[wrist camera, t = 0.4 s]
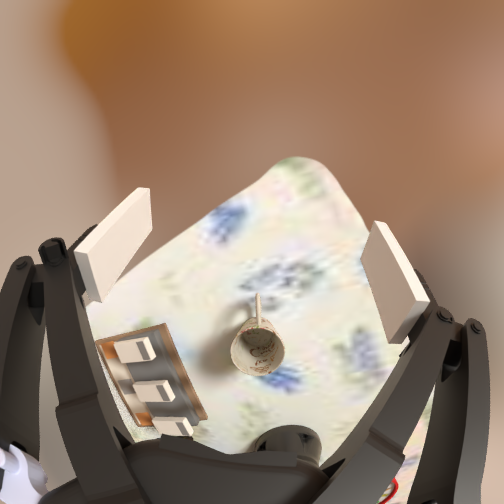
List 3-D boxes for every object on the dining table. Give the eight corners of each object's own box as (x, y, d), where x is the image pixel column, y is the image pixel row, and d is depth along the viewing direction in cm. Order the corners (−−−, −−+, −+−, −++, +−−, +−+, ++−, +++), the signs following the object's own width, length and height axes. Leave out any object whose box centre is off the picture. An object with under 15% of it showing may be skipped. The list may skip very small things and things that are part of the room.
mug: (236, 352, 50) (232, 376, 40) (232, 288, 50) (225, 301, 40) (280, 350, 50) (285, 374, 40) (278, 286, 50) (283, 298, 40)
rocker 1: (158, 354, 46) (151, 360, 43) (128, 358, 48) (121, 363, 45) (150, 335, 46) (142, 340, 43) (120, 340, 48) (112, 344, 45)
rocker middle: (177, 395, 46) (171, 401, 44) (146, 395, 48) (140, 401, 46) (168, 377, 46) (162, 384, 44) (138, 379, 48) (131, 385, 45)
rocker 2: (195, 429, 46) (190, 436, 44) (164, 428, 48) (159, 434, 46) (187, 414, 46) (182, 421, 44) (156, 414, 48) (151, 420, 46)
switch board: (207, 416, 51) (205, 426, 48) (139, 424, 52) (134, 432, 48) (165, 322, 50) (159, 328, 47) (97, 340, 51) (89, 345, 47)
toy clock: (317, 508, 47) (381, 471, 46) (314, 494, 52) (374, 458, 51) (352, 521, 47) (407, 488, 46) (349, 509, 53) (401, 477, 52)
